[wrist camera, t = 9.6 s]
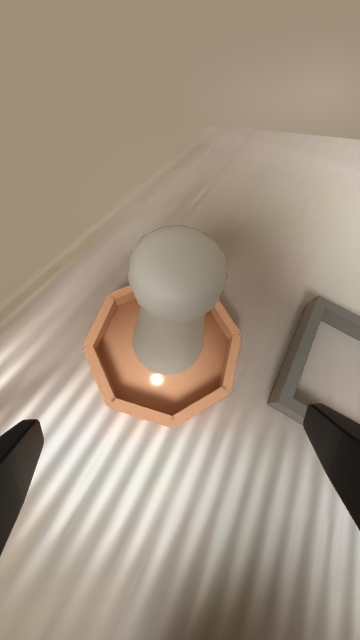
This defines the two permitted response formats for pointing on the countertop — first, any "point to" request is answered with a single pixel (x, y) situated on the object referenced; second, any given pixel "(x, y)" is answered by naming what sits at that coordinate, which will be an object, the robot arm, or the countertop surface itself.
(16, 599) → the countertop surface
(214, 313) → the terracotta dish
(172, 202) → the countertop surface
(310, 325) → the charcoal tray
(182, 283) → the salt shaker
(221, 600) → the countertop surface
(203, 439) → the countertop surface
